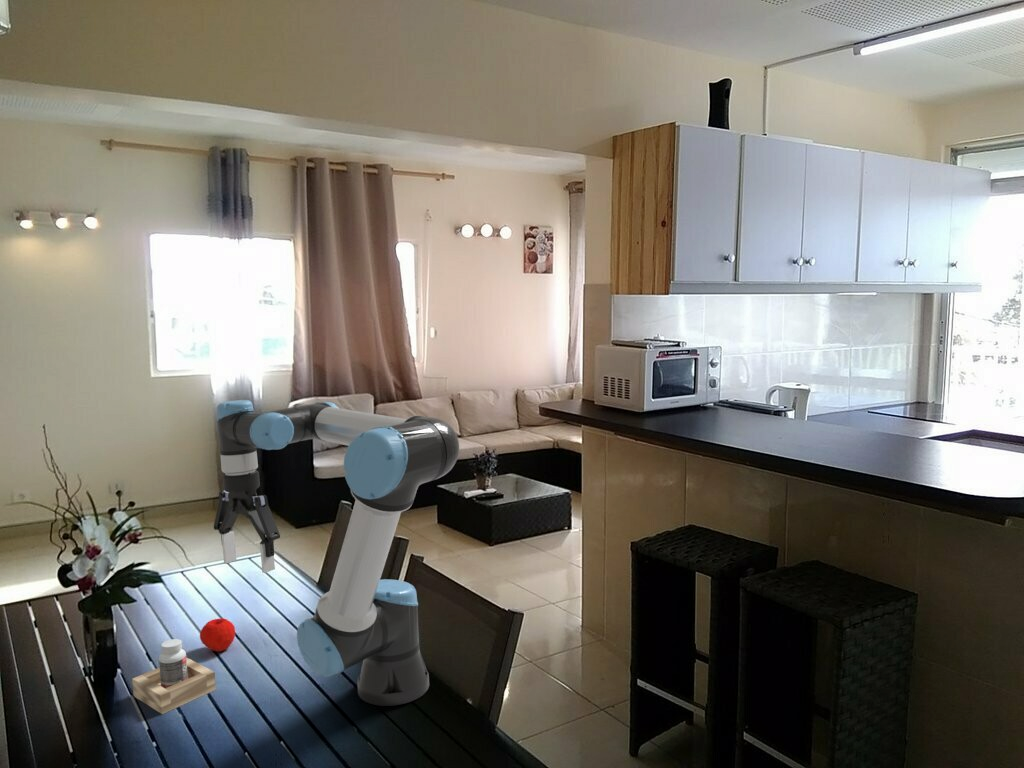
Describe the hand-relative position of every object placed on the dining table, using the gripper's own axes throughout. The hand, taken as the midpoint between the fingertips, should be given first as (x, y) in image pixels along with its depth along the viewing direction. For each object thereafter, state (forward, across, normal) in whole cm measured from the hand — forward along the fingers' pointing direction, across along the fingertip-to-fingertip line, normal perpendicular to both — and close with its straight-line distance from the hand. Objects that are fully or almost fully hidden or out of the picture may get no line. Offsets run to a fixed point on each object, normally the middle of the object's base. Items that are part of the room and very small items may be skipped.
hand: (249, 566), depth 172 cm
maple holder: (+25, +9, +15) cm, 30 cm away
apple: (+25, +19, -3) cm, 31 cm away
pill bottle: (+23, +8, +15) cm, 29 cm away
